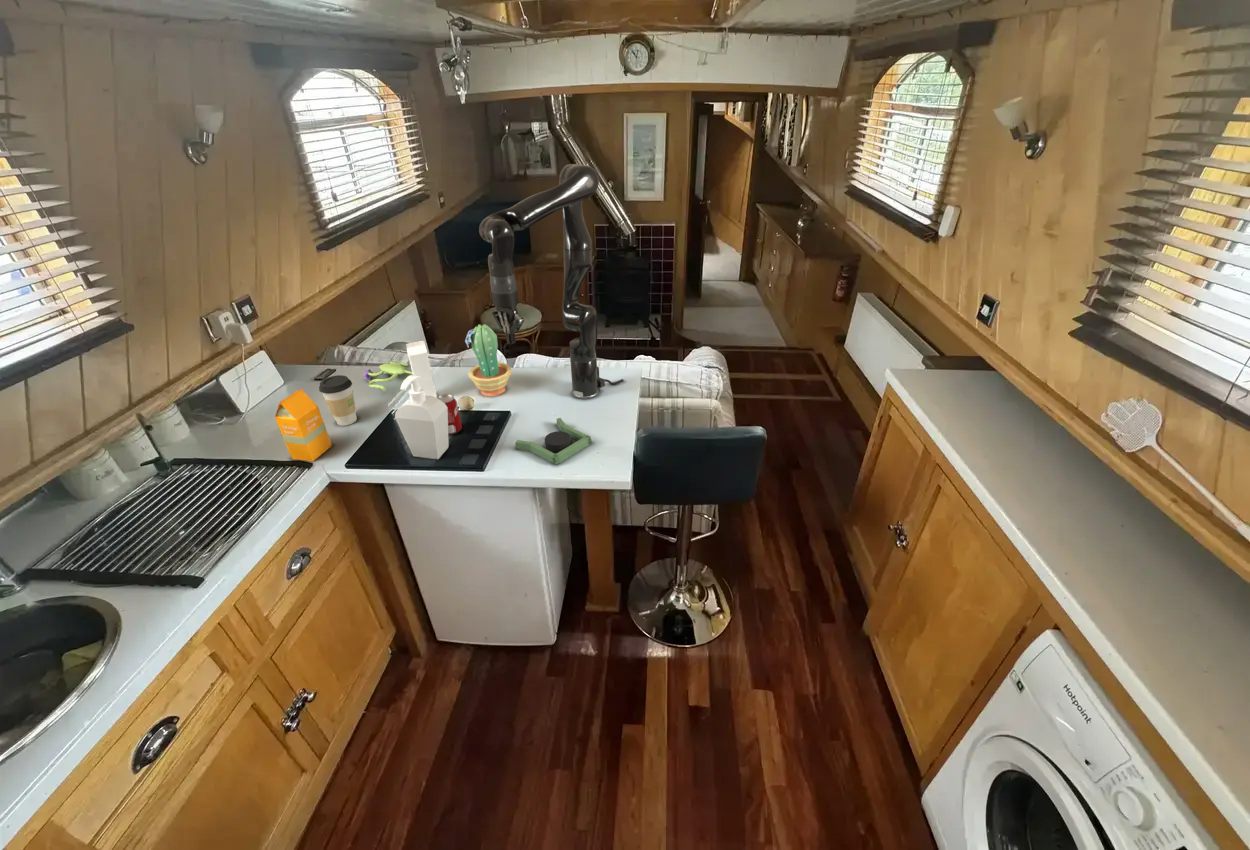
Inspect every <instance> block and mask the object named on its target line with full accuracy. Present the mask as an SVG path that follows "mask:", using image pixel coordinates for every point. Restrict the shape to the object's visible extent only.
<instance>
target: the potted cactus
mask: <svg viewBox="0 0 1250 850" xmlns="http://www.w3.org/2000/svg"><path fill="white" fill-rule="evenodd" d="M464 342H465V344H466V347H467V348H468V349H469V348H470V346H471V350H472V351H473V353H474V355H475V356H476V359H477V362H478V364H477V365H475V366H473V367H471V369H470V370H469V371H468V376H469V379H470V381H472V382H473V384H474V385H475V387H476V388H477V389H478V390H479V391H480V393H481V395H482V396H485V397H496V396H499V395H502V394H504V392H505V391H506V386H507V384H508V382H509V379H510V376H511V375H512V367H511V365H509V364H507V363H504V362H500V361H498V355H497V354H498V349H499V344H498V335H497V334H496V333H495V332H494V330H493V329H492V328H491V327H490V326H489V325H488V324H487V323H484V324H478V325H475V326H474V328H472V329H470V330H468V331H467V334H466V337H465V340H464ZM469 345H470V346H469Z"/></svg>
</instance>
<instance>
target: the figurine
mask: <svg viewBox="0 0 1250 850" xmlns="http://www.w3.org/2000/svg"><path fill="white" fill-rule="evenodd" d="M409 366H410V361H408V362H400V361H394V360H390V361H389V363H383V364H382V363H381V364H380V365H379V369H380V371H378V372H374V371H372V370H371V369H370V368H368V369H366V370H365V371H364V373H363V375H362V377H363V378H364V379H365V380H366V381H367V382H368V387H369V388H372V389H379V390H382V391H383V392H386V391H387V388H386V387H385V386H383V385H381V384H375V383H388V382H391V381H392V380H393V381H394V379H397V378H398V375H402V374H407V375H413V374H412V370H407V368H406V367H409ZM387 374H388V375H389V377H388V378H375V379H373V377H377V376H380V375H387Z"/></svg>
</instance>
